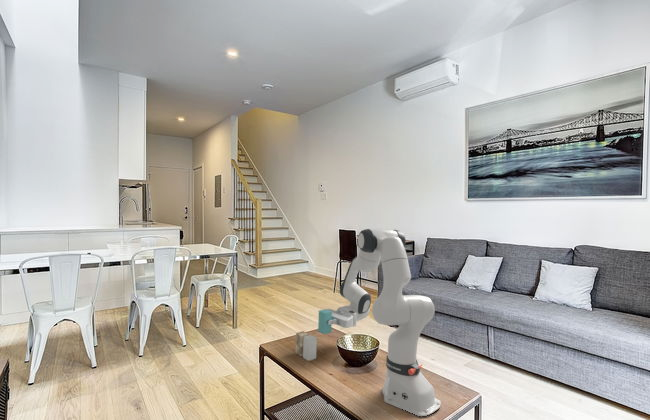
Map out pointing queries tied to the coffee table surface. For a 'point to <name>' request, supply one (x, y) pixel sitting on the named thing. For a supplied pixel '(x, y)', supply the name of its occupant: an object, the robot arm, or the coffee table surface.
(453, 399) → the coffee table surface
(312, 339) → the grey block
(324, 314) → the teal block
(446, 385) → the coffee table surface
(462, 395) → the coffee table surface
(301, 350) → the beige carved figurine
